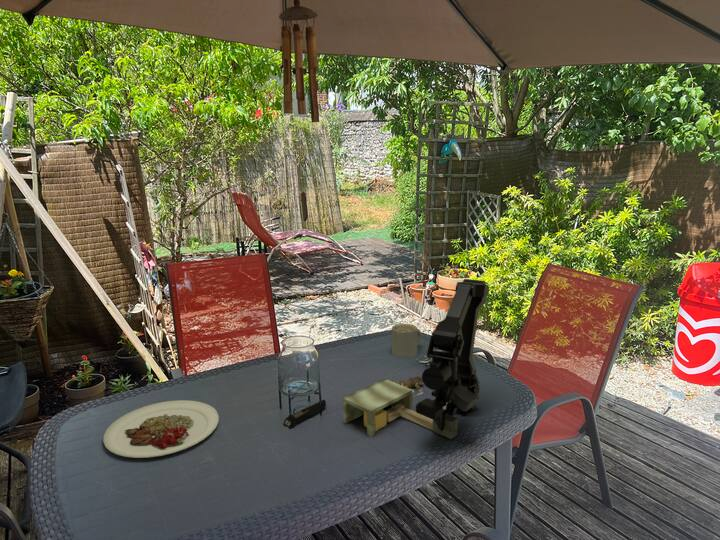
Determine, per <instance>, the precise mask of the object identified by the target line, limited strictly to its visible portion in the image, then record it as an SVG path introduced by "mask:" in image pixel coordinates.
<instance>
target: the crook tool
mask: <svg viewBox="0 0 720 540" xmlns="http://www.w3.org/2000/svg"><path fill="white" fill-rule="evenodd" d="M385 411H386V423H391V422H393V421H395V420H396V419H397V418H399V417H401V418H404V419H406V420H408V421H411V422H413V423H415V424H417V425H420V426H422V427H425V428H427V429H429V430H432V432H433V433H436V434H438V435H440V436H443V437H445V438H447V439H449V440H452V439H454V438H455V437H456V436H458V429H459V428H458V423H459V422H458V421H459V419H458V417H456V416H455V415H454V416H451V415H449V414H446V415H445V422H444V429H443V431H441V430H439V428H438V426H437V424H436V422H435V420H434V419H430V418H428V417H426V416H423V415H421V414H418V413H416V410H415V411H414V410H413V409H412V410H410V409H408V408H405V406H404V405H402V404H397V405H396V406H394V407H392V406H391V408H388V409H386V410H385Z"/></svg>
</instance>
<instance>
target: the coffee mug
mask: <svg viewBox="0 0 720 540" xmlns="http://www.w3.org/2000/svg"><path fill="white" fill-rule="evenodd" d="M421 337H422V331H421V329H419V328H418V327H417V326H416V325H414V324H411V323H397V324H393V325H392V327H391V354H392V355H393V356H395V357H398V358H412V357H416V355H418V344H419V342H420V340H421Z"/></svg>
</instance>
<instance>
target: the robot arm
mask: <svg viewBox="0 0 720 540" xmlns="http://www.w3.org/2000/svg"><path fill="white" fill-rule="evenodd" d="M489 293H490V286H489V284H487V283H486V281H485V280H481V279H480V280H478V279H471V278H470V279H469V278H463V280H462V281H457V282H456V285H455V292H454V295H453V298H452V301H451V304H450V305H449V307H448V311H447V313H446V314H445V315H446V316H445V318H444V319H443V320H441V321H439V322H438V323H437V324H436V327H435V328H434V330H433V331H432V333H431V335H430V340H429V344H428V348H427V352H426V358H431V361H430V363H429V366H427V367H426V368H425V369H424V371H423V372H422V374H421V377H422V381H423V382H422V383H423V385H424V386H425V387H426V388H428V389H429V390H432V391H431V392H430V393H431V396H432V397H435V398H434V399H430V398H427V397H426V398H424V399H422V400H421V401H419V402H417V403H416V404H415V412H416V413H418V414H421V415H423V416H426V417H428V418H430V419H434V420H435V422H436V424H437V426H438V428H439V430H441V431H443V429H444V422H445V415H446V414H449V415H451V416H454V417H455V414H461V415H462V416H467V415H469V414H470V413H472V412H474V411H475V410H477V409H478V406H477V405H475V403H476V401H478V400H479V394H480V383H481V382H480V380H479V378H478V376H477V367H476V366H475V363H474V359H473V356H474V355H473V354H474V349H475V347H474V346H475V340H476V333H477V325H478V318H479V311H480V310H481V309H482V308H483V306H484V305H485V304H486V303H487V302H486V301H487V298H488V297H489ZM434 349H435V350H434Z"/></svg>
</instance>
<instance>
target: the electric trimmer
mask: <svg viewBox="0 0 720 540" xmlns="http://www.w3.org/2000/svg"><path fill="white" fill-rule="evenodd" d="M320 401H321V405H320ZM320 401H317V402H315V403H314V404H311V405H310V406H307V407H305V408H303V409H301V410H298V411H296V412H295V413H293V414H290V415H288V416H287V417H286V418H284V420H283V424H282V425H283V427H286V428H287V427H288V429H294V427H295V426H296V425H298V424H299V423H300V422H302V421H304V420H306V419H308V418H311V417H312V418H313V417H314V416H316V415H317V414H319V413H320V412H321V411H323V410H324V409H325V408H326V407H327V403H326V399H322V400H320Z"/></svg>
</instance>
